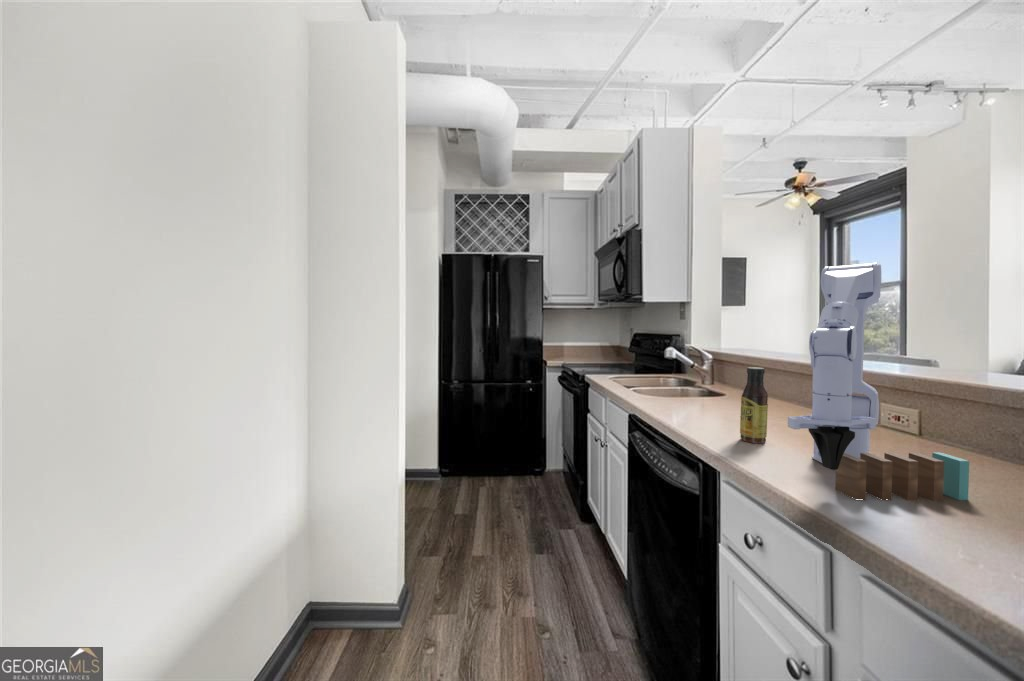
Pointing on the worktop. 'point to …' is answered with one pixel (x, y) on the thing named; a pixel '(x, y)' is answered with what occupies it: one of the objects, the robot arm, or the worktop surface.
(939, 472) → the domino
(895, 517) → the worktop surface
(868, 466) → the domino
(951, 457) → the domino
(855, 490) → the domino
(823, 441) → the robot arm
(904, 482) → the domino
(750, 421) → the sauce bottle
